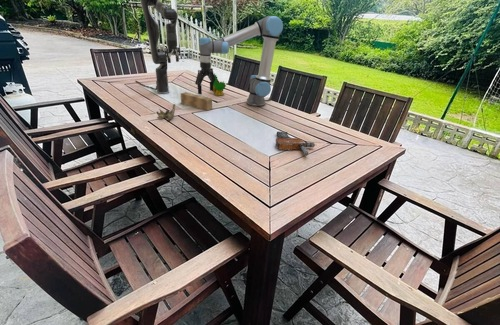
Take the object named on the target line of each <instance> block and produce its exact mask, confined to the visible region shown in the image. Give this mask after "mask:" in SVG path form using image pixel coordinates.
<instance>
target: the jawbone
mask: <svg viewBox="0 0 500 325" xmlns="http://www.w3.org/2000/svg"><path fill="white" fill-rule="evenodd" d="M158 110H159V111H156V115H157V116H156V118H157V119H158V120H163V119H167V121H168V122H169V121H171V120H172V119H173V118H174V116H175V112H176V103H172V109H171V110H169V109H168V108H167V109H166V110H165V111H163V110H162V109H160V108H158Z"/></svg>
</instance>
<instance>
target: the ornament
mask: <svg viewBox="0 0 500 325" xmlns="http://www.w3.org/2000/svg"><path fill="white" fill-rule="evenodd" d="M213 73H214V72H213ZM214 76H215V82H214V86H213V91H212V92H213V93H214V95H215V96H223V95H224V90H226V87H227V85H226V82H224V81H219V79H218V76H217V74H215V73H214ZM213 79H214V78H213Z"/></svg>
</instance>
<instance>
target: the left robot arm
mask: <svg viewBox="0 0 500 325" xmlns="http://www.w3.org/2000/svg"><path fill="white" fill-rule="evenodd" d="M139 1H140V6H141V9H142V12H143V16H144V22H145V25H146V31H147V36H148V41H149V46H150V54H151V60H152V63H154V64H155V65H159V66H157V67H156V68H155V79H156V81H155V88H153V86H149V85H145V84H143V83H142V82H139V81H137V80H135V82H136V83H138V84H139V85H141V86H143V87H145V88H149V89H151V90H155V91H156V93H158V94H163V95H165V94H169V93H170V90H169V89H170V86H169V78H168V77H169V76H168V64H171V63H172V61H171V60H172V59H171V56H173V55H175V62H177V63H179V62H180V57H181V56H182V54H181V47H178V34H177V22H178V15H179V14H178V11H177V9H175V8H169V7H168V6H167V5H166V4H165V3H163V2H162V1H161V0H139ZM149 7H155V8H154V9H155V10H156V11H157V12H158V13H159V14H160V15H161V17H162V18H163V19H165V20H168V21H170V22H168V23H166V24H165V32H166V34H165V36H166V46H167V48H166V47H164V51H158V43H159V39H160V36H161V31H160V26H159V24H158V21H157V20H156V18H155V17H153V15H152V14H151V11H150V8H149Z"/></svg>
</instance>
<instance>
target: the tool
mask: <svg viewBox="0 0 500 325" xmlns="http://www.w3.org/2000/svg"><path fill="white" fill-rule="evenodd" d="M275 144H276V145H275V146H276V148H277V149H278V150H288V151H289V150H300V151H301V152H302V155H303V156H305V157H306V156H309V151H308V150H307V148H314V147H315V146H316V144H315V142H305V141H304V140H303V139H301V138H299V137H290V136H289V135H288V132H287V131H276V139H275Z"/></svg>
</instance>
